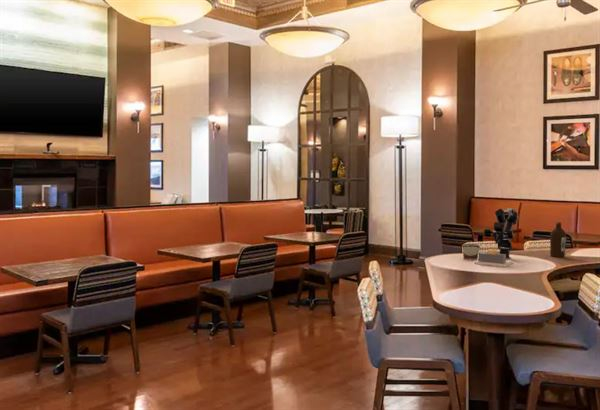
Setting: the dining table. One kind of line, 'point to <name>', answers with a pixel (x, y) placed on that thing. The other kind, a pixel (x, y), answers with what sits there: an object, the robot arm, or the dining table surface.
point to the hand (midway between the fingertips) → (496, 243)
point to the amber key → (492, 251)
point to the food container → (470, 251)
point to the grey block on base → (493, 259)
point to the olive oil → (557, 241)
